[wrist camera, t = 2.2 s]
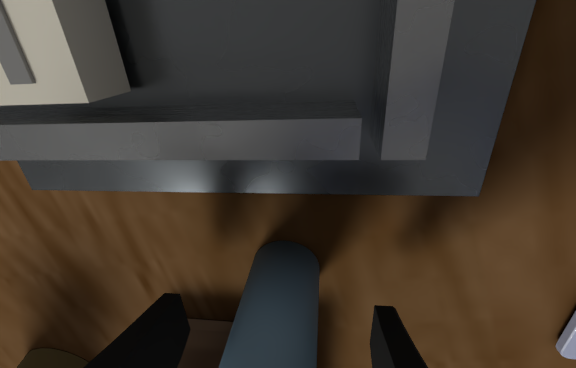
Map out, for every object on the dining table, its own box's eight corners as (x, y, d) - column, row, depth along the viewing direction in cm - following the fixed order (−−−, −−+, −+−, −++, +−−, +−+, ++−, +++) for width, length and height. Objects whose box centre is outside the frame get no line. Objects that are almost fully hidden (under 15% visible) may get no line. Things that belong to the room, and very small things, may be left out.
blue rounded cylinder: (319, 241, 12) (314, 402, 7) (319, 292, 13) (315, 459, 8) (250, 239, 12) (193, 389, 7) (256, 289, 14) (213, 446, 8)
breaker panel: (593, -333, 5) (904, -764, 2) (462, 179, 10) (516, 235, 7) (-113, -195, 7) (-391, -340, 4) (58, 176, 12) (-24, 218, 9)
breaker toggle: (88, -56, 7) (17, -83, 5) (130, 91, 8) (85, 103, 7) (-18, -44, 7) (-113, -66, 6) (42, 94, 9) (-22, 107, 7)
